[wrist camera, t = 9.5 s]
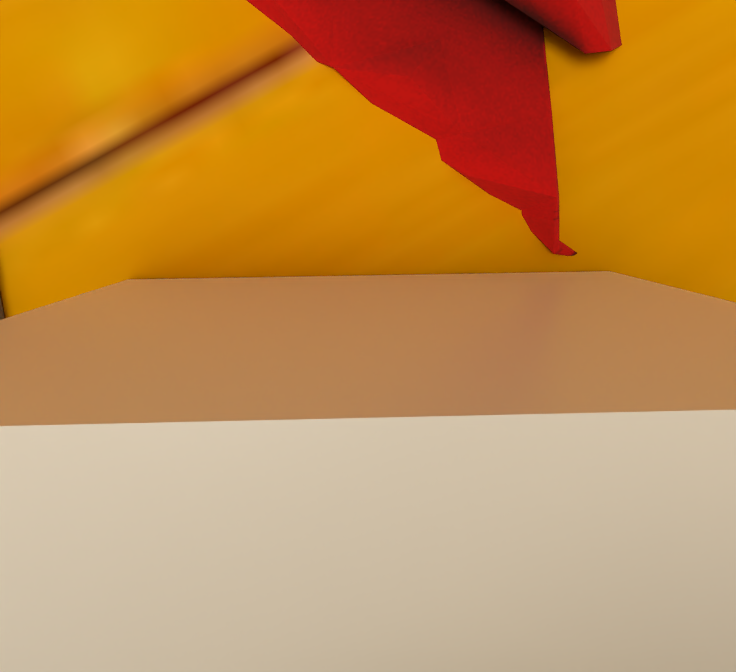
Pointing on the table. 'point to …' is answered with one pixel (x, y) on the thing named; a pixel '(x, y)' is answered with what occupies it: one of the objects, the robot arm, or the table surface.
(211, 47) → the table surface
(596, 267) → the table surface
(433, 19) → the cloth
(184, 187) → the table surface
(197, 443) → the cover
